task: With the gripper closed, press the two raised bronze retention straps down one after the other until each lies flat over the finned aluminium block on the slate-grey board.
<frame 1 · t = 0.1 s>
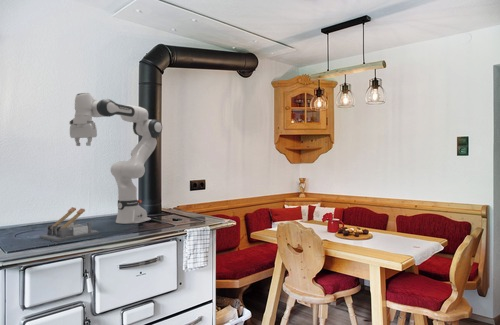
hand: (83, 145, 200), 48 cm above the countertop, tool pointing down, fingers open, 8 cm apart
heatsink: (73, 235, 186), resting on board
posts: (69, 235, 185), resting on board
strap a: (62, 218, 186), point 9 cm above the countertop, hinge at 35.0°
board: (70, 235, 185), on the countertop
strap b: (71, 220, 182), point 9 cm above the countertop, hinge at 35.0°
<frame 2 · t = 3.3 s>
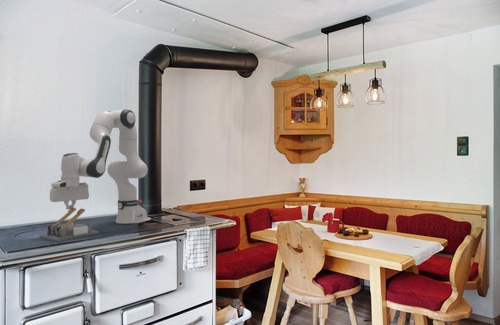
hand: (70, 209, 189), 13 cm above the countertop, tool pointing down, fingers closed
strap a: (62, 218, 186), point 9 cm above the countertop, hinge at 34.8°, touching gripper
everything else where it was.
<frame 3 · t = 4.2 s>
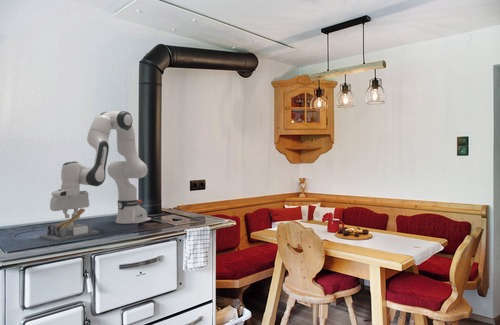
hand: (70, 217, 189), 9 cm above the countertop, tool pointing down, fingers closed
strap a: (64, 222, 187), point 7 cm above the countertop, hinge at 15.2°, touching gripper
everything else where it was.
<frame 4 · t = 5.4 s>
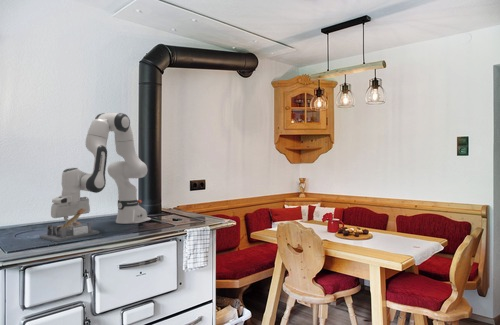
hand: (71, 224, 190), 5 cm above the countertop, tool pointing down, fingers closed
strap a: (65, 226, 187), point 5 cm above the countertop, hinge at -0.5°, touching gripper
everything else where it was.
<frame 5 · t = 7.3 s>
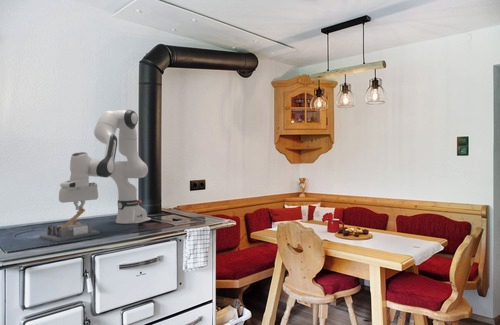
hand: (79, 209, 185), 14 cm above the countertop, tool pointing down, fingers closed
strap a: (65, 226, 187), point 5 cm above the countertop, hinge at -0.5°
strap b: (71, 220, 182), point 9 cm above the countertop, hinge at 35.0°, touching gripper
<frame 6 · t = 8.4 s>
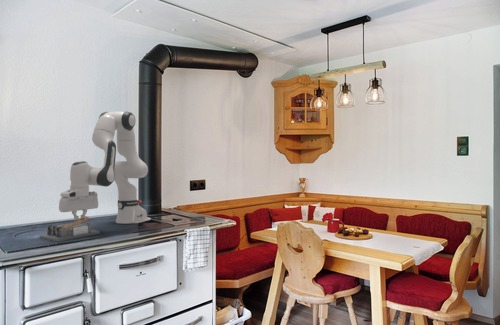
hand: (79, 218, 185), 9 cm above the countertop, tool pointing down, fingers closed
strap b: (73, 223, 183), point 7 cm above the countertop, hinge at 15.5°, touching gripper
everything else where it was.
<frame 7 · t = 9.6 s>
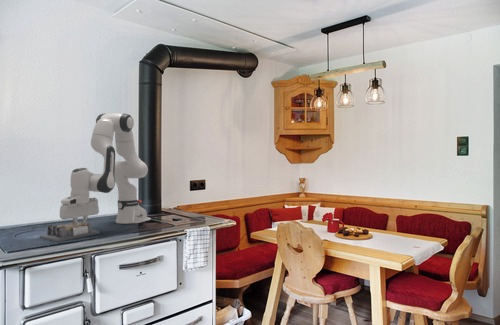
hand: (80, 225, 185), 5 cm above the countertop, tool pointing down, fingers closed
strap b: (74, 227, 183), point 5 cm above the countertop, hinge at -0.2°, touching gripper
everything else where it was.
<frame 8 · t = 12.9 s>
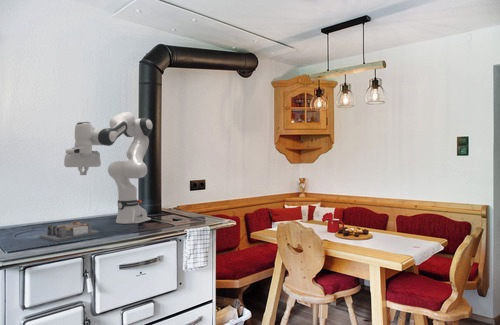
hand: (83, 175, 198), 31 cm above the countertop, tool pointing down, fingers closed
strap b: (74, 227, 183), point 5 cm above the countertop, hinge at -0.2°
everything else where it was.
at the end: strap a at +0° (first picture: +35°); strap b at +0° (first picture: +35°) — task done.
